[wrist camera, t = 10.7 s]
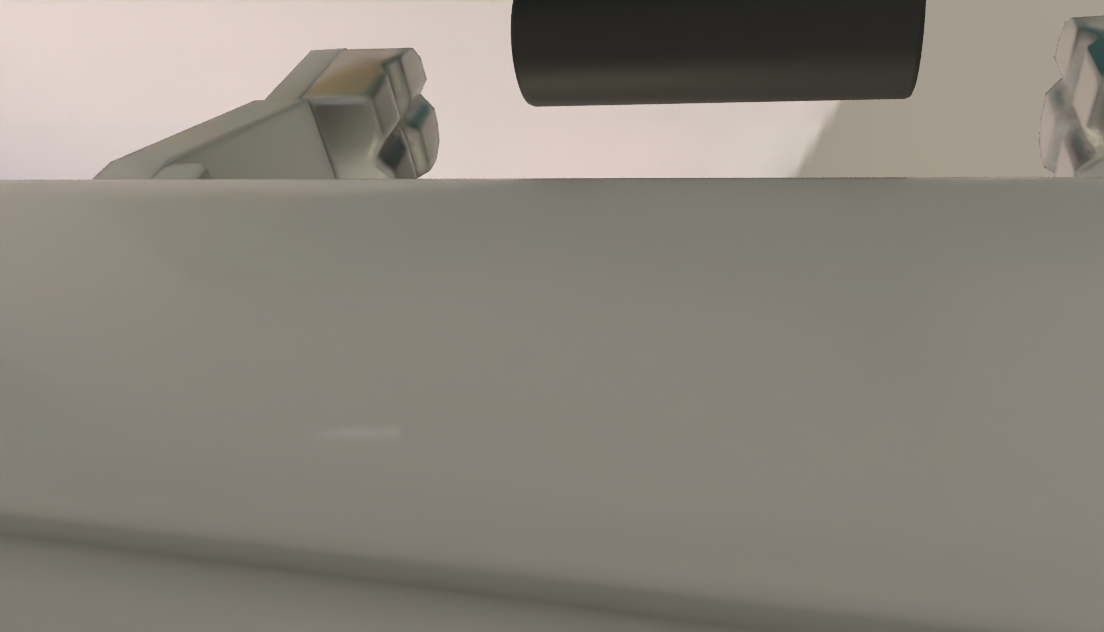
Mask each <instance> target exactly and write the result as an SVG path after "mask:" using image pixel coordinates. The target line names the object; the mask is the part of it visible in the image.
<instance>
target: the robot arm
mask: <svg viewBox="0 0 1104 632" xmlns="http://www.w3.org/2000/svg"><path fill="white" fill-rule="evenodd" d="M1054 59H1055V62H1056V64H1057V67H1058V69H1059V72H1060V74H1061V77H1062V78H1061V79H1060V80H1059V81H1058V82H1057V83H1055V84H1054V85H1053V86H1052V87H1051V88H1050V89H1049V90H1048V91H1047V92H1046V94H1045V100H1044V104H1043V109H1042V114H1041V119H1040V132H1039V146H1040V156H1041V159H1042V162H1043V166H1044V168H1046V169H1048V170H1049V171H1051V172H1053V173H1054V177H917V178H915V177H907V178H906V177H903V178H901V177H900V178H898V177H893V178H892V177H891V178H890V177H889V178H888V177H886V178H545V179H417V178H418V177H420V176H422V175H424V174H425V173H427V172H429V171H430V170H431V168H432V166H433V165H434V163H435V161H436V159H437V153H438V146H439V131H438V122H437V118H436V114H435V110H434V107H433V106H432V105H431V104H430V103H429V102H428V101H427V100H426V99H425V98H424V97H423V96H422V95H421V94H420V93H421V91H422V89H423V86H424V84H425V82H426V75H425V72H424V68H423V65H422V61H421V58H420V56H419V55H418V54H417V52H416V51H415V50H414V49H413V48H389V49H350V50H348V49H346V48H343V49H328V50H314V51H310V52H309V54H308V55H307V56H306V57H305V58H304V59H303V60H302V61H301V62H300V63H299V64H298V65H297V66H296V67H295V68H294V69H293V70H292V72H291V73H290V74H289V75H288V76H287V77H286V78H285V79H284V80H283V81H282V82H281V83H280V84H279V85H278V86H277V87H276V88H275V89H274V91H273V92H272V93H271V94H270V95H269V96H268V97H267V98H266V99H265V100H257V101H253V102H250V103H248V104H246V105H243V106H241V107H239V108H236V109H234V110H232V111H229V112H227V113H225V114H222V115H220V116H217V117H215V118H213V119H210V120H208V121H206V122H203V123H201V124H199V125H196V126H194V127H192V128H189V129H187V130H185V131H182V132H180V133H178V134H175V135H173V136H171V137H168V138H166V139H164V140H161V141H159V142H157V143H154V144H152V145H149V146H147V147H145V148H142V149H140V150H138V151H135V152H133V153H131V154H128V155H126V156H124V157H121V158H119V159H117V160H114V161H112V162H110V163H109V164H108V165H107V166H106V167H105V168H104V169H103V170H102V171H100V172H99V173H98V174H97V175H96V176H95V177H94V178H93V179H92V180H0V632H1104V16H1091V17H1090V16H1089V17H1074V18H1071V19H1069V20H1068V21H1066V22H1065V23H1064V26H1063V28H1062V31H1061V33H1060V36H1059V39H1058V44H1057V48H1056V52H1055V56H1054Z"/></svg>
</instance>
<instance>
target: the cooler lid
mask: <svg viewBox="0 0 1104 632" xmlns="http://www.w3.org/2000/svg"><path fill="white" fill-rule="evenodd" d="M925 6H926V0H513V4H512V14H511V45H512V56H513V63H514V69H515V73H516V78H517V81H518V84H519V88H520V90H521V93H522V95H523V97H524V99H525V100H526V101H527V102H528V103H529V104H530V105H533V106H537V107H538V106H585V105H632V104H679V103H726V102H773V101H820V100H864V99H865V100H867V99H905V98H908V97H910V96H911V94H912V92H913V90H914V88H915V85H916V81H917V76H918V71H919V65H920V59H921V52H922V43H923V34H924V22H925Z"/></svg>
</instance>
